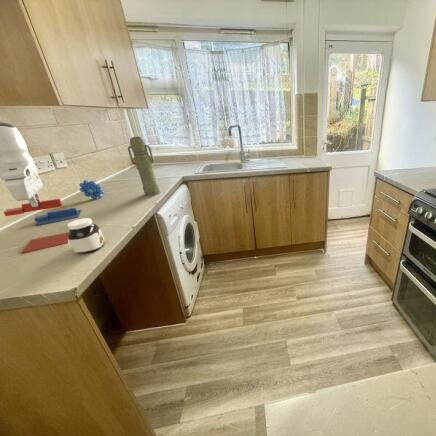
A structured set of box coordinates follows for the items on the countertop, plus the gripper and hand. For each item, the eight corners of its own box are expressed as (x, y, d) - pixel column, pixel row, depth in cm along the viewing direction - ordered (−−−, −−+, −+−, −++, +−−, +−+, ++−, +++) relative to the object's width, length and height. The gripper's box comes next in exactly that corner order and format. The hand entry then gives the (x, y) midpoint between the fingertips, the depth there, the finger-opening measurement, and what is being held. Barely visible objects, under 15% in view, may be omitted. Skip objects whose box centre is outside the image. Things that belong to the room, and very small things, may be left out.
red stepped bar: (5, 216, 89) (1, 208, 88) (9, 213, 92) (5, 205, 91) (61, 207, 97) (58, 200, 96) (63, 204, 100) (60, 197, 99)
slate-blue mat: (35, 225, 115) (35, 224, 114) (42, 217, 124) (42, 216, 124) (78, 217, 122) (78, 216, 122) (81, 210, 132) (81, 209, 131)
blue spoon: (35, 221, 117) (32, 216, 116) (37, 219, 120) (35, 213, 119) (77, 214, 125) (75, 209, 124) (78, 212, 128) (76, 207, 127)
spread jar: (96, 254, 89) (83, 226, 84) (61, 259, 87) (46, 231, 82) (111, 239, 100) (100, 213, 95) (80, 243, 98) (67, 217, 93)
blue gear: (81, 202, 145) (72, 183, 140) (86, 198, 151) (77, 180, 146) (103, 199, 148) (96, 180, 143) (107, 196, 154) (100, 177, 149)
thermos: (163, 195, 152) (146, 136, 138) (142, 198, 148) (122, 138, 134) (164, 191, 160) (148, 135, 145) (143, 194, 156) (125, 137, 141)
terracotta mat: (21, 253, 91) (20, 252, 91) (31, 240, 100) (30, 239, 100) (75, 242, 99) (75, 240, 99) (80, 231, 108) (79, 229, 108)
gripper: (17, 166, 95) (33, 199, 101) (-4, 176, 79) (16, 215, 85) (39, 164, 98) (53, 196, 104) (22, 173, 82) (40, 211, 88)
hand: (36, 205), depth 94 cm, fingers closed on red stepped bar
